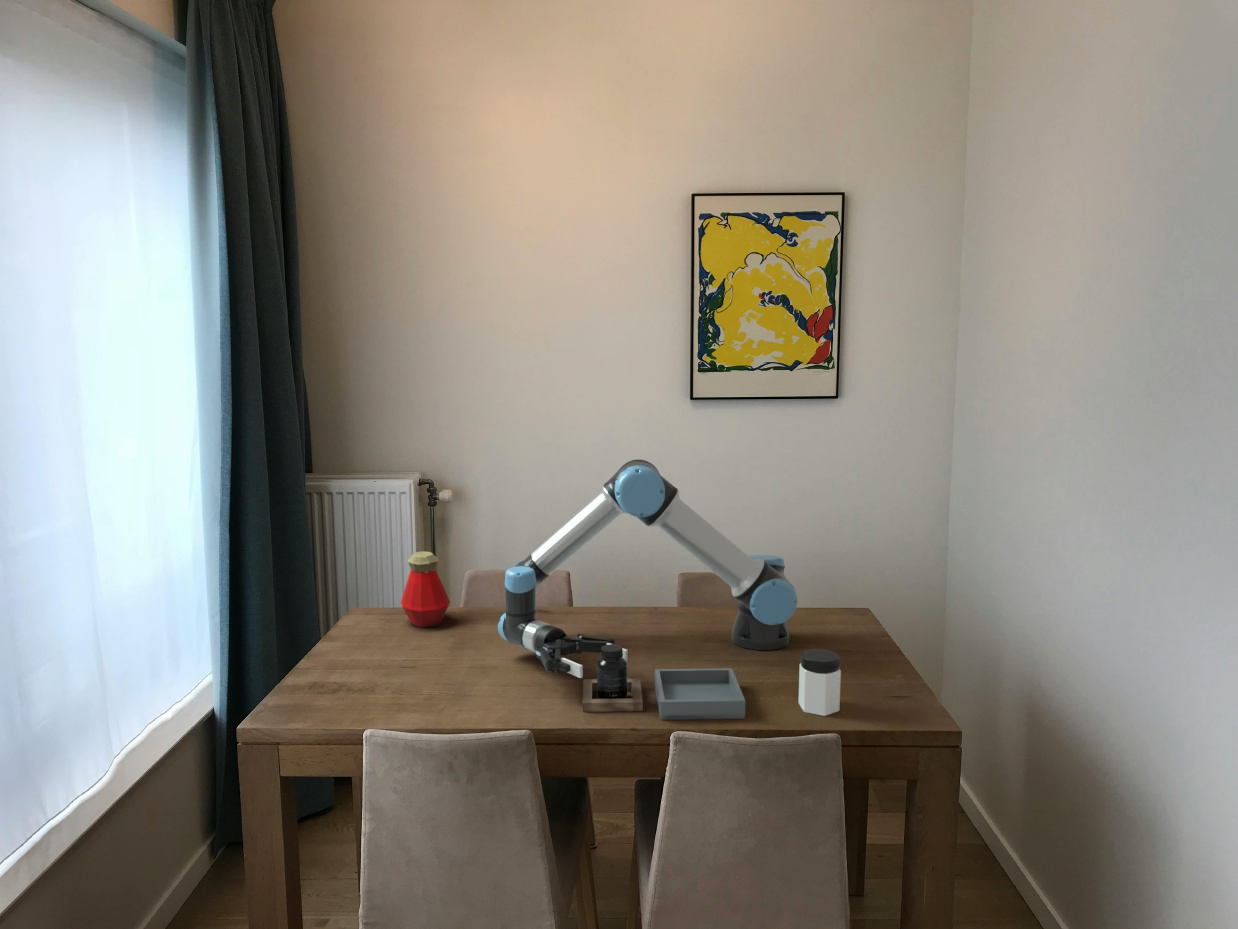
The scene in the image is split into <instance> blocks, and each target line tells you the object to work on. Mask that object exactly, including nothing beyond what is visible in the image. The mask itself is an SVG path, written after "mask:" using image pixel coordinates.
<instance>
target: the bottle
mask: <svg viewBox="0 0 1238 929" xmlns="http://www.w3.org/2000/svg"><path fill="white" fill-rule="evenodd" d="M438 562H439V558H438V557H437V556H436V555H435V554H434V553H433V552H431V551H417V552H413V554H412V555H410V556H409V558H407V563H408V565H409V567H410V570H409V575H408V577H407V582H406V583H405V587H404V591H403V593H402V597H401V601H400V605H401V607H402V608H403V610H404V612H405V614H406V616H407V618H408V619H409V622H410V623H411V625H412V626H413V627H417V628H423V629H424V628H425V629H426V628H434V627H437V626H440V625H441V623H442V621H443V618H444V616H445V614H446V612H447V610H448V607H449V605H450V603H451V601H450V598H449V596H448V593H447V592H446V590H445V587H444V585H443V583H442V580H441V578H440V576H439V574H438V572H437V569H436V568H437V566H438Z"/></svg>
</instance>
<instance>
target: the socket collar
mask: <svg viewBox="0 0 1238 929" xmlns="http://www.w3.org/2000/svg"><path fill="white" fill-rule="evenodd" d="M582 685H583V687H582V712H583V713H584V712H585V713H587V712H590V713H591V712H593V713H595V712H596V713H597V712H599V713H600V712H643V710H644V708H643V706H644V705H643V704H644V702H643V694H642V684H641V678H627V691H631V698H627V699H598V698H593V692H597V678H593V679H592V678H590V679H589V678H588V679H586V678H584V679H583V682H582Z"/></svg>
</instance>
